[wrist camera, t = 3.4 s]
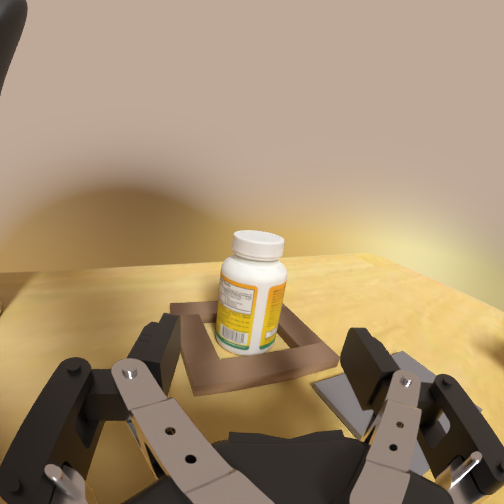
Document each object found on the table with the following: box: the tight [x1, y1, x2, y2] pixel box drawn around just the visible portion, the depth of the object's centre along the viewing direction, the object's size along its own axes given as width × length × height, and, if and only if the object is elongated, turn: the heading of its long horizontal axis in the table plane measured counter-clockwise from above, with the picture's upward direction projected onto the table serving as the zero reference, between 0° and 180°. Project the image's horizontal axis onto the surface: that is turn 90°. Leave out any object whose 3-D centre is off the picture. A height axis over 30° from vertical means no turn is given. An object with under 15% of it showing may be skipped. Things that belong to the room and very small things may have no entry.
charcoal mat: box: [313, 351, 482, 476], centre depth 16 cm, size 11×11×1 cm
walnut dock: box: [170, 301, 340, 396], centre depth 24 cm, size 12×12×1 cm
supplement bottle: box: [216, 230, 287, 356], centre depth 23 cm, size 5×5×10 cm
